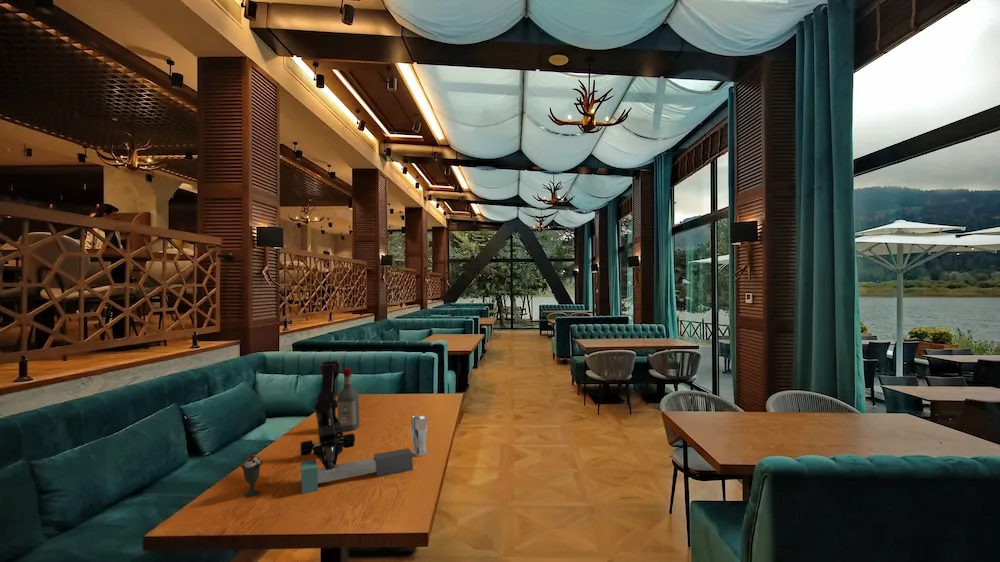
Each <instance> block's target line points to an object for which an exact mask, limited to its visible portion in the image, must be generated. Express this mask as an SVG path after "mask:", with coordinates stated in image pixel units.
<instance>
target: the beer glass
mask: <svg viewBox="0 0 1000 562" xmlns="http://www.w3.org/2000/svg"><path fill="white" fill-rule="evenodd" d="M427 418H428V417H427V416H426V415H414V416H412V417H410V435H411V440H412V456H415V457H421V456H424V455H427V454H428V450H427V436H428V420H427Z"/></svg>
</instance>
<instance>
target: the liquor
mask: <svg viewBox="0 0 1000 562" xmlns="http://www.w3.org/2000/svg"><path fill="white" fill-rule="evenodd" d="M352 385H353V384H352V368H343V389H342V390H341V391H340V393H339V394H338V396H337V397H336V400H337V402H338V407H337V408H336V410H337V411H336V412H337V418H338V420H339V422H340V425H341V427H342V428H343V432H351V431H352V432H353V431H355V430H357V429H358V428H359V426H360V400H359V398H360V395H359V392H357V391H356V390H355V389H354V388H353V386H352Z"/></svg>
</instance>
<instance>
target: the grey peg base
mask: <svg viewBox="0 0 1000 562" xmlns="http://www.w3.org/2000/svg"><path fill="white" fill-rule="evenodd" d="M324 457H325V461H326V467H324V466H321V467H317V476H318V484H321V483H327V482H331V481H332V482H333V481H337V480H343V479H347V478H353V477H358V476H363V475H368V474H373V473H375V472H377V467H376V459H375V458H374V457H371V458H366V459H359V460H354V461H349V462H348V461H347V462H343V463H338V464H337V463H336V465H334V446H333V445H329V446H326V447H325V455H324Z"/></svg>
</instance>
